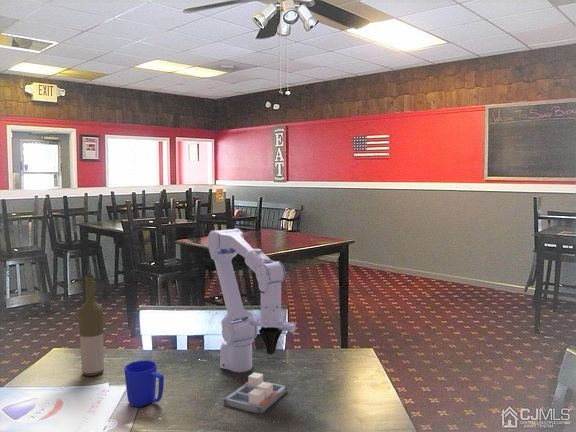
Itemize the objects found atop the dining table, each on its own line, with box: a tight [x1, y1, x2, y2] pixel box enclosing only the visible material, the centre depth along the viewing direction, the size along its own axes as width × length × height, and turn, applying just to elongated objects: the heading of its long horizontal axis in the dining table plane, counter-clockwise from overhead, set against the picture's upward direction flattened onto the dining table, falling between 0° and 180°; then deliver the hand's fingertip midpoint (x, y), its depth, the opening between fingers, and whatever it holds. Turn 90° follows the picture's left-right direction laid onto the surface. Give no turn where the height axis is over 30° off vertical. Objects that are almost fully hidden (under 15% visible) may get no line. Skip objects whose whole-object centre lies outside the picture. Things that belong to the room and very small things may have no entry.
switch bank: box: [223, 380, 288, 414], centre depth 132 cm, size 11×14×3 cm
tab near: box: [249, 389, 265, 406], centre depth 127 cm, size 3×3×4 cm
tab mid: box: [257, 381, 273, 399], centre depth 131 cm, size 3×3×4 cm
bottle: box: [78, 274, 105, 377], centre depth 150 cm, size 7×7×30 cm
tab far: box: [247, 371, 264, 388], centre depth 137 cm, size 3×3×4 cm
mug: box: [123, 360, 165, 408], centre depth 131 cm, size 8×12×10 cm
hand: (271, 353), depth 139 cm, fingers closed
